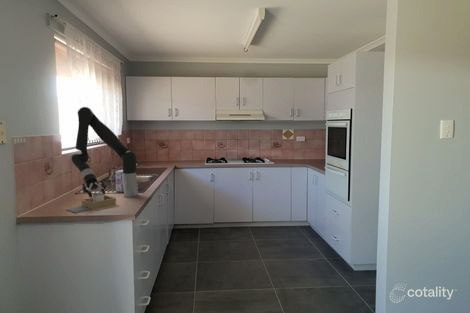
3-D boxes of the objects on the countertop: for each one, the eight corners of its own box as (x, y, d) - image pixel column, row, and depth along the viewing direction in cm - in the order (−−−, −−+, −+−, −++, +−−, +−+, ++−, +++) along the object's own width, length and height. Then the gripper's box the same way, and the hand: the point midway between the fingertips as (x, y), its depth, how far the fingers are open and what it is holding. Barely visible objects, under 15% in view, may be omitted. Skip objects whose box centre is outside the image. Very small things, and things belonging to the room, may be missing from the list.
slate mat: (80, 207, 216) (80, 206, 216) (89, 210, 208) (89, 209, 208) (66, 209, 209) (66, 209, 209) (74, 213, 201) (74, 212, 201)
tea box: (100, 204, 222) (99, 192, 222) (104, 205, 219) (103, 193, 218) (93, 205, 219) (93, 193, 218) (97, 206, 216) (96, 194, 215)
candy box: (122, 192, 260) (121, 171, 258) (115, 191, 261) (114, 171, 259) (132, 188, 273) (131, 168, 271) (125, 188, 274) (124, 168, 273)
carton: (102, 200, 232) (102, 194, 232) (119, 205, 218) (119, 198, 218) (78, 205, 220) (78, 198, 219) (94, 211, 206) (94, 203, 205)
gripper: (79, 174, 217) (89, 194, 211) (100, 172, 228) (110, 190, 222) (76, 181, 221) (85, 201, 215) (97, 178, 232) (106, 197, 226)
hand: (97, 195), depth 219 cm, fingers open, 8 cm apart
